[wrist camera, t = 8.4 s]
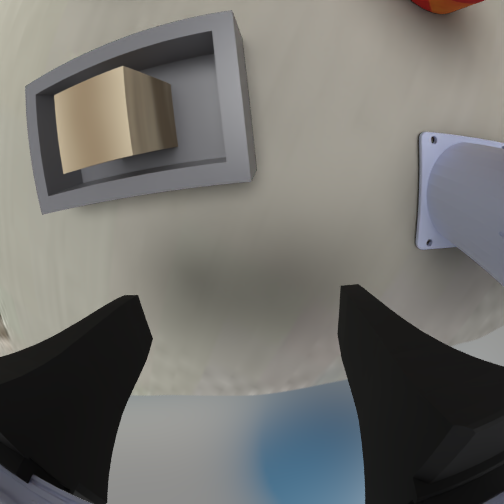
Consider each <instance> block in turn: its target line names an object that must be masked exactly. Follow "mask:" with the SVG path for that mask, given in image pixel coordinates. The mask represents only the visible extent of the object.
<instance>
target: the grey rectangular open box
mask: <svg viewBox="0 0 504 504" xmlns="http://www.w3.org/2000/svg"><path fill="white" fill-rule="evenodd" d="M121 66H125V67H128V68H131V69H133V70H136V71H139V72H141V73H144V74H147V75H149V76H152V77H154V78H157V79H159V80H162V81H164V82H167V83H169V84H171V93H172V102H173V110H174V119H175V127H176V134H177V142H178V147H172V148H167V149H162V150H157V151H152V152H147V153H143V154H138V155H134V156H130V157H125V158H121V159H117V160H113V161H109V162H105V163H101V164H97V165H93V166H90V167H86V168H83V169H79V170H76V171H72V172H69V173H66V174H64V173H63V168H62V162H61V155H60V149H59V141H58V133H57V124H56V114H55V101H54V95H56V94H58V93H60V92H62V91H64V90H66V89H68V88H70V87H72V86H74V85H77V84H79V83H81V82H83V81H86V80H88V79H90V78H93V77H95V76H97V75H100V74H102V73H105V72H108V71H110V70H113V69H115V68H118V67H121ZM25 94H26V116H27V128H28V138H29V147H30V155H31V161H32V168H33V174H34V179H35V185H36V190H37V195H38V199H39V204H40V208H41V212H42V215H43V214H47V213H51V212H56V211H60V210H65V209H69V208H74V207H79V206H84V205H89V204H94V203H99V202H105V201H110V200H116V199H121V198H127V197H133V196H139V195H145V194H152V193H158V192H165V191H172V190H180V189H187V188H195V187H203V186H212V185H221V184H230V183H241V182H251V181H252V179H253V177H254V174H255V172H256V170H257V167H256V157H255V147H254V138H253V129H252V119H251V110H250V101H249V92H248V83H247V75H246V66H245V57H244V49H243V41H242V36H241V33H240V31H239V28H238V25H237V22H236V20H235V17H234V14H233V12H232V10H230V11H224V12H218V13H212V14H207V15H201V16H197V17H192V18H188V19H183V20H179V21H175V22H171V23H168V24H164V25H160V26H157V27H154V28H150V29H147V30H144V31H141V32H138V33H135V34H132V35H129V36H126V37H124V38H121V39H118V40H116V41H113V42H111V43H108V44H106V45H103V46H101V47H98V48H96V49H94V50H92V51H89V52H87V53H85V54H83V55H81V56H79V57H77V58H74V59H72V60H70V61H68V62H67V63H65V64H63V65H61V66H59V67H57V68H55V69H53V70H52V71H50V72H48V73H46V74H45V75H43V76H41V77H39V78H38V79H36V80H34V81H33V82H31V83H30V84H28V85H26V86H25Z"/></svg>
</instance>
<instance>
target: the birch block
mask: <svg viewBox="0 0 504 504" xmlns="http://www.w3.org/2000/svg"><path fill="white" fill-rule="evenodd" d="M54 101H55V114H56V124H57V133H58V141H59V149H60V155H61V162H62V168H63V173H64V174H66V173H69V172H72V171H76V170H79V169H83V168H86V167H90V166H93V165H97V164H101V163H105V162H109V161H113V160H117V159H121V158H125V157H130V156H134V155H138V154H143V153H147V152H152V151H157V150H162V149H167V148H172V147H178V142H177V134H176V127H175V119H174V110H173V102H172V93H171V84H169V83H167V82H164V81H162V80H159V79H157V78H154V77H152V76H149V75H147V74H144V73H141V72H139V71H136V70H133V69H131V68H128V67H125V66H121V67H118V68H115V69H113V70H110V71H108V72H105V73H102V74H100V75H97V76H95V77H93V78H90V79H88V80H86V81H83V82H81V83H79V84H77V85H74V86H72V87H70V88H68V89H66V90H64V91H62V92H60V93H58V94H56V95H54Z"/></svg>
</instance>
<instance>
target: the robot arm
mask: <svg viewBox="0 0 504 504" xmlns="http://www.w3.org/2000/svg"><path fill="white" fill-rule="evenodd" d="M432 136H433V137H434V143H432V142H431V137H432ZM419 154H420V178H419V206H418V221H417V233H416V246H417V247H418V248H419V249H421V250H426V249H438V248H450V247H458V248H459V249H460V250H461V251H463V252H464V253H465V254H466V255H468V256H469V257H470V258H471V259H473V260H474V261H475V262H476V263H477V264H479V265H480V266H481V267H482V268H483V269H484V270H486V271H487V272H488V273H489V274H490V275H491V276H492V277H494V278H495V279H496V280H497V281H498V282H499V283H500V284H501V285H503V286H504V143H501V142H496V141H491V140H485V139H480V138H473V137H467V136H460V135H452V134H444V133H434V132H422V133H421V134H420V136H419ZM429 239H430V242H429V243H428V244H426V243H427V241H428V240H429ZM338 339H339V345H340V351H341V357H342V361H343V364H344V368H345V371H346V375H347V378H348V381H349V385H350V388H351V392H352V395H353V398H354V402H355V406H356V410H357V414H358V419H359V425H360V433H361V440H362V450H363V460H364V475H365V504H504V367H503V366H500V365H496V364H493V363H490V362H487V361H484V360H481V359H478V358H475V357H473V356H470V355H468V354H466V353H463V352H461V351H458V350H456V349H454V348H452V347H450V346H448V345H446V344H444V343H442V342H440V341H438V340H436V339H435V338H433V337H431V336H429V335H427V334H426V333H424V332H422V331H421V330H419V329H418V328H416V327H415V326H413V325H412V324H410V323H409V322H407V321H406V320H404V319H403V318H401V317H400V316H399V315H397V314H396V313H395V312H393V311H392V310H391V309H389V308H388V307H387V306H385V305H384V304H383V303H382V302H380V301H379V300H378V299H377V298H375V297H374V296H373V295H372V294H370V293H369V292H368V291H367V290H365V289H364V288H363V287H361V286H360V285H358V284H356V285H344V286H341V291H340V308H339V323H338ZM152 340H153V338H152V335H151V332H150V329H149V327H148V324H147V321H146V318H145V315H144V312H143V309H142V306H141V303H140V300H139V297H138V295H124V296H122V297H120V298H117V299H116V300H114V301H112V302H110V303H108V304H107V305H105V306H103V307H102V308H100V309H98V310H97V311H95V312H93V313H92V314H90V315H89V316H87V317H85V318H84V319H82V320H81V321H79V322H77V323H75V324H74V325H72V326H70V327H69V328H67V329H65V330H63V331H62V332H60V333H58V334H56V335H54V336H53V337H51V338H49V339H47V340H44V341H42V342H40V343H38V344H36V345H34V346H31V347H28V348H26V349H23V350H21V351H18V352H15V353H13V354H9V355H6V356H3V357H0V504H106V503H107V492H108V478H109V470H110V463H111V457H112V451H113V447H114V443H115V438H116V434H117V431H118V427H119V423H120V420H121V417H122V413H123V411H124V409H125V406H126V404H127V401H128V399H129V397H130V395H131V393H132V390H133V388H134V386H135V384H136V382H137V380H138V378H139V375H140V373H141V371H142V369H143V367H144V364H145V362H146V360H147V357H148V353H149V350H150V347H151V343H152ZM63 490H64V491H63ZM65 491H66V492H65ZM67 492H68V493H67ZM69 493H70V494H69ZM71 494H72V495H71ZM73 495H74V496H73ZM78 497H79V498H78ZM80 498H81V499H80ZM82 499H83V500H82ZM87 501H88V502H87ZM89 502H90V503H89Z"/></svg>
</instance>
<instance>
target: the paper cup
mask: <svg viewBox="0 0 504 504" xmlns="http://www.w3.org/2000/svg"><path fill="white" fill-rule="evenodd" d="M411 1H412V2H414V3H415V4H416V5H418V6H420V7H421V8H423V9H425V10H427V11H430V12H433V13H437V14H447V13H450V12H453V11H456V10H459V9H462V8H465V7H467V6H470V5H473V4H476V3H479V2H482V1H484V0H411Z"/></svg>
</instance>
